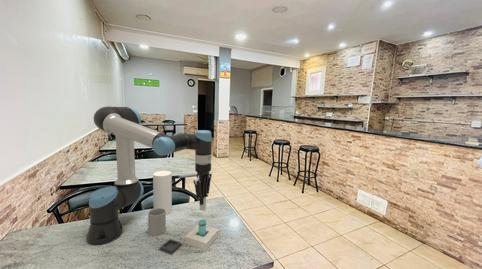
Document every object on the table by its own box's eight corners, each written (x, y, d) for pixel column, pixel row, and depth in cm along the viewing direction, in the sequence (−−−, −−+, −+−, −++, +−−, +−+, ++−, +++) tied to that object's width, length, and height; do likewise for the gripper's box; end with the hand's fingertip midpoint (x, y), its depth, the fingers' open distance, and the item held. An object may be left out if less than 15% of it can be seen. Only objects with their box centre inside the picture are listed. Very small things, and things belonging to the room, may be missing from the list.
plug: (197, 241, 99) (197, 222, 98) (201, 237, 103) (201, 218, 102) (203, 243, 98) (203, 224, 97) (207, 239, 101) (207, 220, 100)
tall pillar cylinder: (159, 206, 133) (158, 170, 130) (174, 208, 132) (174, 171, 129) (150, 215, 122) (149, 175, 120) (167, 216, 121) (166, 176, 119)
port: (184, 244, 97) (184, 236, 97) (198, 230, 108) (198, 223, 108) (206, 251, 93) (206, 243, 92) (218, 236, 104) (218, 229, 103)
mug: (161, 236, 102) (161, 216, 101) (145, 236, 102) (144, 215, 101) (170, 223, 114) (170, 205, 113) (155, 223, 114) (155, 204, 113)
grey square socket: (157, 251, 92) (157, 247, 91) (169, 241, 99) (169, 237, 99) (171, 256, 89) (171, 252, 88) (183, 245, 96) (183, 241, 96)
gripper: (202, 167, 89) (202, 217, 91) (216, 160, 101) (216, 205, 103) (188, 165, 91) (188, 214, 94) (203, 159, 103) (203, 203, 106)
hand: (202, 209), depth 99 cm, fingers closed
